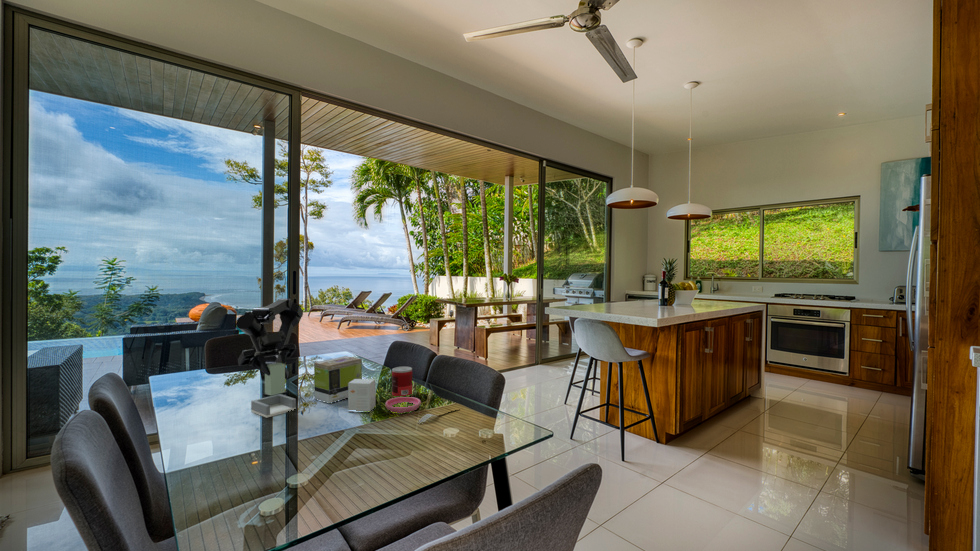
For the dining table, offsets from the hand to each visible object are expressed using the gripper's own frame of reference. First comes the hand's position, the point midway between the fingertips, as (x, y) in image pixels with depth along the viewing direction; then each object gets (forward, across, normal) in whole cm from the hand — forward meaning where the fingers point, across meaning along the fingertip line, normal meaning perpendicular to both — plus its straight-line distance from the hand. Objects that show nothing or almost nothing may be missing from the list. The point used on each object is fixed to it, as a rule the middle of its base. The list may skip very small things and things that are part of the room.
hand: (277, 373), depth 149 cm
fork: (+44, +30, -24) cm, 59 cm away
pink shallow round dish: (+34, +28, -14) cm, 46 cm away
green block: (+4, 0, +6) cm, 7 cm away
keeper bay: (+8, 0, +11) cm, 14 cm away
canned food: (+25, +38, -6) cm, 46 cm away
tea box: (+12, +23, +8) cm, 27 cm away
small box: (+26, +18, -6) cm, 32 cm away
